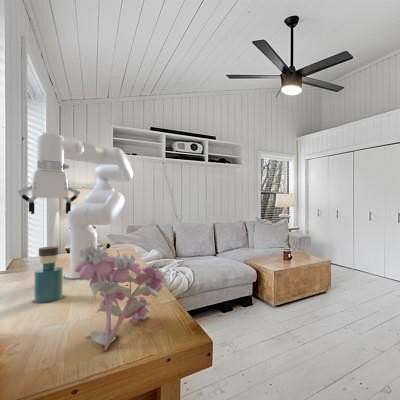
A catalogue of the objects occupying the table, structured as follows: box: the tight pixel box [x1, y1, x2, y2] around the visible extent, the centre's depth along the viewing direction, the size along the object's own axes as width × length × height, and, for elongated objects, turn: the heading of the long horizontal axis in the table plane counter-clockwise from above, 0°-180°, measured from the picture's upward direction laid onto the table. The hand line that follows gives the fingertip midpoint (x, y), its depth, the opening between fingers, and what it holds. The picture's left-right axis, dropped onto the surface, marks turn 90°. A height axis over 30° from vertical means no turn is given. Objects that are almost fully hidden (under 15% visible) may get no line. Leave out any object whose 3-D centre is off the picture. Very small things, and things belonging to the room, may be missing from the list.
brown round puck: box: [38, 246, 60, 257], centre depth 98 cm, size 5×5×2 cm
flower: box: [75, 243, 168, 351], centre depth 76 cm, size 20×22×25 cm
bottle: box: [33, 254, 64, 304], centre depth 99 cm, size 7×7×15 cm
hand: (50, 213), depth 108 cm, fingers open, 9 cm apart
